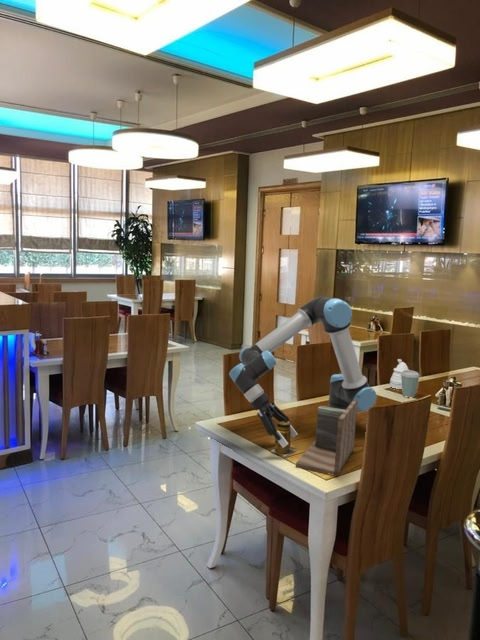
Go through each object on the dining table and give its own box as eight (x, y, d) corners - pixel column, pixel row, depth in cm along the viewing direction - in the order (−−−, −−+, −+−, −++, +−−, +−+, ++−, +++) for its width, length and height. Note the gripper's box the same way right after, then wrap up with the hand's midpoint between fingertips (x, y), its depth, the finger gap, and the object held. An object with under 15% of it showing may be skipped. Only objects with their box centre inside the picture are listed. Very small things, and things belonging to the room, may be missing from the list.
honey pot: (391, 389, 306) (393, 361, 303) (388, 384, 318) (391, 357, 316) (412, 391, 304) (415, 363, 301) (409, 386, 316) (411, 358, 314)
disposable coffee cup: (420, 399, 286) (422, 374, 284) (401, 398, 286) (404, 373, 284) (414, 394, 297) (416, 370, 295) (396, 393, 297) (398, 369, 295)
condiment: (270, 451, 200) (271, 422, 199) (282, 445, 207) (284, 418, 205) (284, 456, 196) (286, 427, 194) (296, 451, 202) (298, 422, 200)
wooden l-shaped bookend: (315, 442, 212) (319, 393, 209) (353, 450, 206) (357, 400, 203) (295, 466, 187) (299, 411, 184) (337, 476, 180) (342, 419, 177)
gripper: (261, 395, 216) (293, 436, 212) (239, 410, 194) (273, 456, 190) (273, 385, 213) (305, 427, 209) (252, 399, 191) (287, 445, 187)
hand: (290, 441), depth 199 cm, fingers open, 11 cm apart
